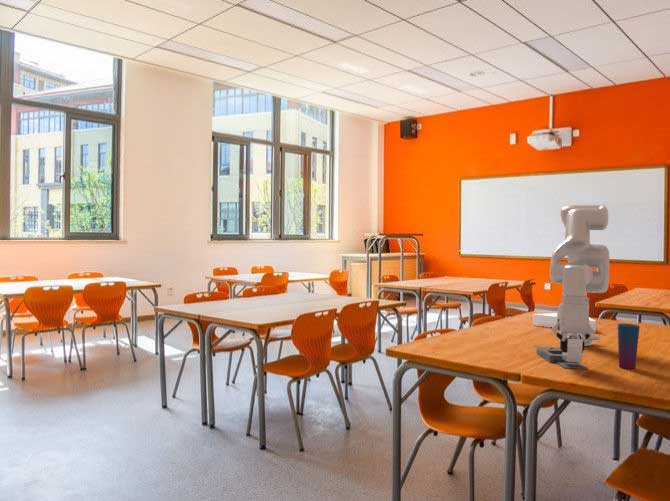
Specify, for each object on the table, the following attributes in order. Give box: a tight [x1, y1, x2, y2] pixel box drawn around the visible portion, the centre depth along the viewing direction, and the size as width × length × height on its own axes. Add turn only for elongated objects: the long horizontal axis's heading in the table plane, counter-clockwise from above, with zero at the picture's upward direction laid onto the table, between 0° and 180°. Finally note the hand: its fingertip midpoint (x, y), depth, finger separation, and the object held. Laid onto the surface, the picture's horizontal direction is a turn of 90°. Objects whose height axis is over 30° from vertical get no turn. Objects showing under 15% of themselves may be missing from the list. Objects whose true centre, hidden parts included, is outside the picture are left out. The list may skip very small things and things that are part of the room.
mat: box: [555, 362, 589, 370], centre depth 195 cm, size 8×8×1 cm
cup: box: [617, 322, 640, 370], centre depth 194 cm, size 7×7×15 cm
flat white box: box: [532, 312, 597, 334], centre depth 283 cm, size 30×26×6 cm
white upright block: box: [562, 335, 583, 363], centre depth 195 cm, size 5×5×9 cm
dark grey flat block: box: [536, 346, 579, 363], centre depth 208 cm, size 10×15×3 cm, turn 177°
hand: (572, 351), depth 195 cm, fingers closed on white upright block, 5 cm apart
